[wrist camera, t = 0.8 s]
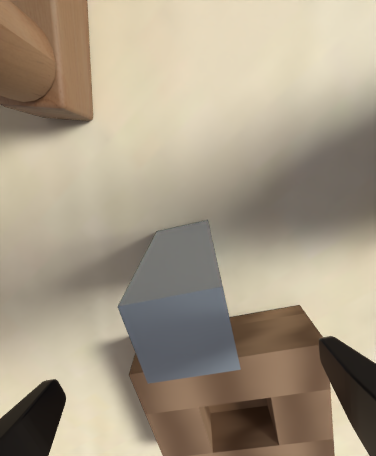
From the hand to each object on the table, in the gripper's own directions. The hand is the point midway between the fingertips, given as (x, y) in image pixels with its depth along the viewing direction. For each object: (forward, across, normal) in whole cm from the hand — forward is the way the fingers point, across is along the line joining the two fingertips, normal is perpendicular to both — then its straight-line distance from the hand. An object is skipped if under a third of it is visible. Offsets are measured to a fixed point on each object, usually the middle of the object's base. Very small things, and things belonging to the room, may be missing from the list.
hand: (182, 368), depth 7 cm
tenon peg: (+10, 0, 0) cm, 10 cm away
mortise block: (+10, -1, +14) cm, 17 cm away
